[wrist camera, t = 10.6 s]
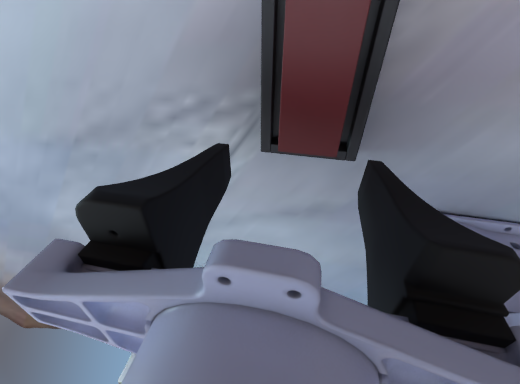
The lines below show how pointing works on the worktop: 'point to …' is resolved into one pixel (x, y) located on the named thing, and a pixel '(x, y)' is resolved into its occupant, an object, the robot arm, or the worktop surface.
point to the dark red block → (318, 72)
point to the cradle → (363, 84)
